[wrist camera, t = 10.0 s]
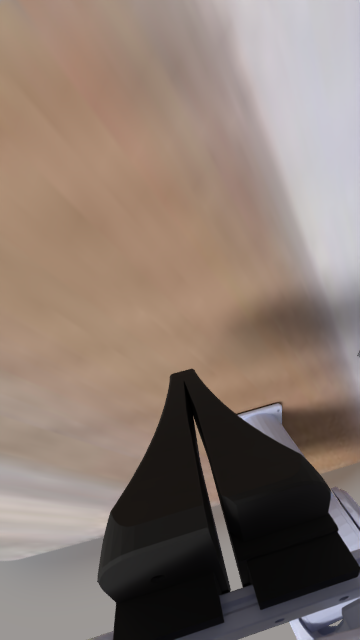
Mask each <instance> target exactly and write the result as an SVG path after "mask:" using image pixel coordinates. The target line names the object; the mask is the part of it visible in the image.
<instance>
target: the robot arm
mask: <svg viewBox="0 0 360 640" xmlns="http://www.w3.org/2000/svg"><path fill="white" fill-rule="evenodd" d="M193 416H194V418H193ZM194 419H195V422H196V425H197V428H198V431H199V433H200V436H201V439H202V442H203V445H204V448H205V450H206V453H207V456H208V459H209V463H210V466H211V470H212V474H213V477H214V481H215V485H216V489H217V492H218V496H219V500H220V504H221V507H222V511H223V515H224V518H225V522H226V525H227V530H228V533H229V537H230V541H231V545H232V548H233V552H234V556H235V560H236V563H237V567H238V571H239V575H240V578H241V582H242V586H243V588H241V589H238V590H235V591H232V592H230V590H231V589H230V585H229V581H228V576H227V572H226V568H225V564H224V560H223V556H222V551H221V547H220V543H219V539H218V535H217V531H216V526H215V522H214V518H213V514H212V510H211V505H210V501H209V497H208V493H207V488H206V484H205V480H204V476H203V471H202V467H201V462H200V457H199V451H198V444H197V438H196V431H195V425H194ZM332 491H333V493H334V494H335V496H336V497H337V499H338V500H339V502H340V503H339V502H338V500H337V499H336V498H335V496H334V495H333V494H332V492H331V490H330V488H329V487H328V485H327V484H326V482H325V481H324V479H323V478H322V477H321V475H320V474H319V473H318V472H317V471H316V470H315V468H314V467H313V466H312V465H311V464H310V463H309V462H308V461H307V459H306V458H305V457H304V455H303V454H302V452H301V451H300V450H299V448H298V447H297V445H296V444H295V443H294V441H293V440H292V438H291V437H290V436H289V434H288V433H287V431H286V430H285V429H284V427H283V426H282V406H281V405H280V404H279V403H277V404H273V405H270V406H266V407H263V408H260V409H256V410H253V411H249V412H246V413H242V414H239V415H236V414H235V413H234V412H233V411H232V410H230V409H229V408H228V407H227V406H226V405H224V404H223V403H222V402H221V401H220V400H219V399H218V398H217V397H216V396H215V395H214V394H213V393H212V392H211V391H210V390H209V389H208V388H207V387H206V385H205V384H204V383H203V382H202V381H201V379H200V378H199V377H198V375H197V374H196V372H195V370H194V369H189V370H185V371H181V372H178V373H174V374H171V376H170V383H169V389H168V394H167V398H166V402H165V406H164V409H163V412H162V415H161V418H160V421H159V424H158V427H157V429H156V432H155V434H154V436H153V439H152V441H151V443H150V445H149V447H148V449H147V452H146V454H145V456H144V457H143V459H142V461H141V463H140V465H139V467H138V468H137V470H136V472H135V474H134V476H133V477H132V479H131V481H130V482H129V484H128V486H127V487H126V489H125V490H124V492H123V493H122V495H121V496H120V498H119V500H118V501H117V503H116V504H115V506H114V507H113V509H112V510H111V512H110V515H109V519H108V523H107V527H106V531H105V535H104V539H103V544H102V550H101V557H100V564H99V571H98V581H97V582H98V583H99V585H100V587H101V588H102V589H103V591H104V592H105V593H106V594H108V595H109V596H110V597H111V598H112V599H113V600H114V601H115V602H116V612H115V622H114V631H112V632H109V633H106V634H103V635H100V636H97V637H94V638H91V639H88V640H238V639H240V638H244V637H246V636H249V635H252V634H255V633H258V632H260V631H264V630H267V629H269V628H272V627H275V626H278V625H281V624H284V623H287V622H289V623H290V625H291V627H292V629H293V631H294V634H295V636H296V638H297V640H360V507H359V506H358V504H357V503H356V502H355V501H354V500H353V498H352V497H351V496H350V495H349V494H348V493H347V492H346V491H344V490H341V489H339V488H338V487H333V488H332ZM341 505H342V506H341ZM341 619H343V620H342V621H341V622H340V624H339V625H338V626H328V625H330V624H333V623H335V622H337V621H339V620H341Z"/></svg>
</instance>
